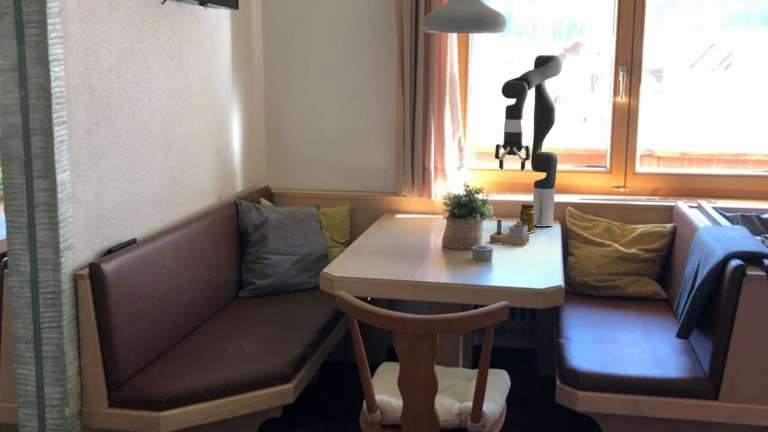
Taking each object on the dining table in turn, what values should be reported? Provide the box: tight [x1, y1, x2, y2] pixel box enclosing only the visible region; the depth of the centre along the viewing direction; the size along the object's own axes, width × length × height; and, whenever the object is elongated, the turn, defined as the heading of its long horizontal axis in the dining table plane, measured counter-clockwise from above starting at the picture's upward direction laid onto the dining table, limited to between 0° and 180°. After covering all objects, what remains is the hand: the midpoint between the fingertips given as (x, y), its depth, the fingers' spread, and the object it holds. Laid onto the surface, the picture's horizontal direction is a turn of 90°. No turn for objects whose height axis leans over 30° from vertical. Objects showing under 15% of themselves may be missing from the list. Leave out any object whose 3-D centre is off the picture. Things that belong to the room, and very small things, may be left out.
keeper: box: [489, 218, 530, 246], centre depth 324 cm, size 9×14×9 cm, turn 68°
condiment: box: [519, 203, 535, 232], centre depth 345 cm, size 7×8×12 cm
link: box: [508, 223, 528, 238], centre depth 323 cm, size 8×6×4 cm
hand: (511, 169), depth 332 cm, fingers open, 8 cm apart
